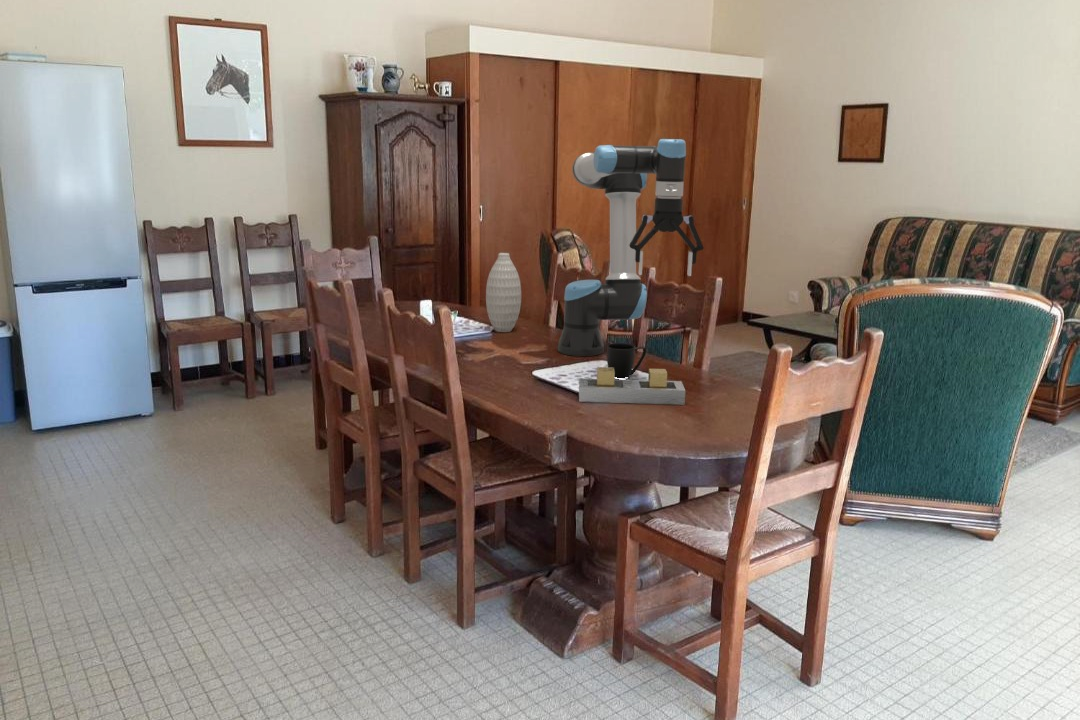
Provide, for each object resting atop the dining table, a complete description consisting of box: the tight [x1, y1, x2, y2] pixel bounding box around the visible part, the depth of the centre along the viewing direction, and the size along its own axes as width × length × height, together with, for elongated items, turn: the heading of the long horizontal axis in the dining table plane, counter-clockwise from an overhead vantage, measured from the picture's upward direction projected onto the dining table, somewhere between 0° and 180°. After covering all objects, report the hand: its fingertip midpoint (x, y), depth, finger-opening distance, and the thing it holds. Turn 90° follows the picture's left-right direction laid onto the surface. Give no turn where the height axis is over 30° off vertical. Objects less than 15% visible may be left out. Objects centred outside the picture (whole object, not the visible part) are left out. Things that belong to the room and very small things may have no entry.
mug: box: [606, 342, 647, 378], centre depth 253 cm, size 8×12×10 cm
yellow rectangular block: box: [647, 368, 668, 389], centre depth 231 cm, size 4×4×8 cm
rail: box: [578, 377, 687, 406], centre depth 232 cm, size 9×28×4 cm, turn 88°
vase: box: [485, 252, 522, 333], centre depth 310 cm, size 13×13×28 cm
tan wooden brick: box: [596, 366, 615, 387], centre depth 232 cm, size 4×4×8 cm
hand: (664, 274), depth 239 cm, fingers open, 13 cm apart
